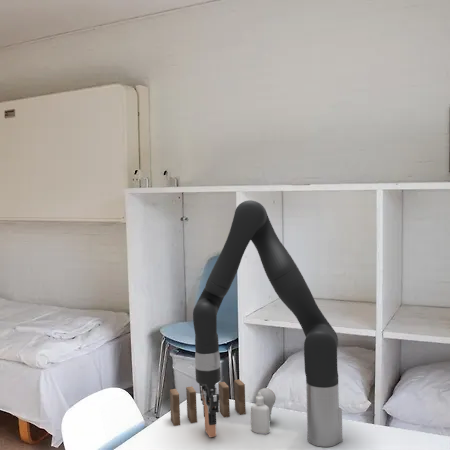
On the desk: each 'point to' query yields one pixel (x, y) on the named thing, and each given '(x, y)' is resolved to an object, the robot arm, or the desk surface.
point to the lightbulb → (268, 398)
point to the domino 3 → (208, 428)
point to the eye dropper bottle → (260, 416)
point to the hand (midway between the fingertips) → (210, 420)
